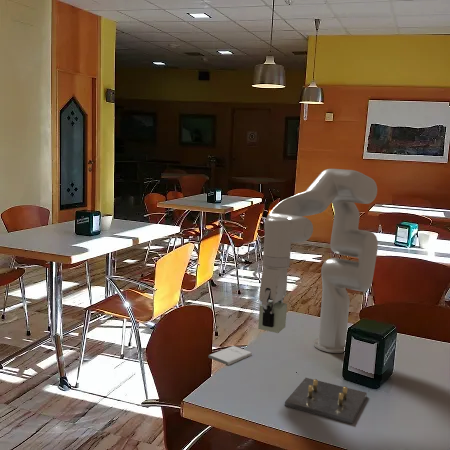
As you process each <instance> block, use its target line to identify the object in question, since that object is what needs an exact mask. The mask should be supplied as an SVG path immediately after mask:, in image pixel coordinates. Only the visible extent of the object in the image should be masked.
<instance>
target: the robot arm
mask: <svg viewBox="0 0 450 450" xmlns="http://www.w3.org/2000/svg"><path fill="white" fill-rule="evenodd" d="M377 195H378V186H377V183H376V181H375V180H374V179H373V178H372V177H370V176H368V175H365V174H364V173H362V172H360V171H357V170H354V169H342V168H341V169H340V168H327V169H324V170H322V171H321V172H320V173H319V174H318V176H317V177H316V178H315V179H314V180H313V182H312V183H311V184H310V185H309V186H308V187H307V188H306V190H304V191H303V192H299V193H297V194H295V195H293V196H290V197H287V198H285V199H283V200H281V201H280V202H279V203H277V204H276V205H275V206H274V207H273V208H272V209H271V210H270V212H269V213H268V215H267V216H266V218H265V220H264V223H263V224H264V225H263V228H264V240H263V252H262V253H263V255H262V267H263V269H262V272H261V273H262V275H261V279H260V287H259V298H258V299H259V301H260V302H261V304H262V306H263V322H262V325H263V326H267V327H273V326H274V313H273V311H274V306H275V303H277V302H280V303H284V300H285V299H284V298H285V297H286V295H287V288H288V287H287V286H288V269H290V265H291V263H290V261H291V252H292V251H291V249H292V247H291V246H292V243H304V242H307V241H308V240H309V239H311V237H312V235H313V232H314V225H313V223H312V221H311V220H310V219H309V218H308V217H309V216H313V215H317V214H322V213H323V212H325V211H326V210H327V209H328V208H329V206H330V205H331V204H332V206H333V207H332V208H333V211H334V215H333V221H332V222H333V223H332V231H331V236H330V250H331V252H333V253H334V254H337V255H341V256H346V257H351V258H357V259H358V261H356V260H350V259H344V258H339V257H332V258H328V259H326V260H324V262H323V263H322V266H321V270H320V271H321V272H320V274H321V275H320V276H321V284H322V285H321V286H322V287H321V288H322V293H321V304H320V314H319V315H320V317H319V326H318V327H319V328H318V329H319V330H318V338H315V339H314V341H313V346H314V347H315V348H316V349H318V350H319V351H323V352H327V353H329V354H330V353H332V354H343V352H344V347H345V340H346V341H347V335H346V333H347V332H348V322H349V313H350V299H351V298H350V296H349V294H348V291H347V289H348V290H352V291H358V292H366V291H368V290H369V289H370V288H371V286H372V283H373V278H374V274H375V270H376V269H375V267H376V262H377V255H378V249H379V242H378V237H377V235H376V234H375V233H374V232H372V231H369V230H363V229H359V223H360V217H361V216H360V210H359V209H358V207H357V205H356V204H366V205H368V204H371V203H372V202H374V201H375V199H376V197H377ZM307 216H308V217H307ZM268 301H272V302H268ZM268 304H271V308H270V306H268ZM347 334H348V333H347ZM344 353H345V352H344Z"/></svg>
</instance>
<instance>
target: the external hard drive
mask: <svg viewBox="0 0 450 450" xmlns="http://www.w3.org/2000/svg"><path fill="white" fill-rule="evenodd" d="M252 355H253V354H252V351H248V350H246V349H243V348H240V347H238V346H235V345H232V346H229V347H227V348H224V349H221V350H218V351H216V352H213V353H211V354H208V359H210V360H213V361H216V362H219V363H221V364H224V365H225V366H230V365H232V364H234V363H236V362H239V361H242V360H243V359H246V358H249V357H250V356H252Z"/></svg>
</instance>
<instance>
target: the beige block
mask: <svg viewBox="0 0 450 450" xmlns="http://www.w3.org/2000/svg"><path fill="white" fill-rule="evenodd" d="M268 302H272V300H269V301H268ZM268 306H270V308H271V304H268ZM287 307H288V304H287V303H286V302H285V303H284V302H283V303H280V302H277V303H275V306H274V311H273V313H274V326H273V327H267V326H263V325H262V322H263V306H262V303H261V304H259V309H258V310H259V311H258V312H259V313H258V324H257V325H258V327H257V328H258V330H262V331H267V332H272V333H276V334H279V333H280V332H281V331H282V330H283V329H285V328H286V324H287V322H286V321H287V311H288V310H287Z"/></svg>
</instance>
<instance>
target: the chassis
mask: <svg viewBox="0 0 450 450" xmlns="http://www.w3.org/2000/svg"><path fill="white" fill-rule="evenodd" d="M367 394H368V392H366V391H362V390H357V389H355V388H349V387H348V386H341V385H338V384H333V383H329V382H325V381H322V380H321V381H320V380H318V379H316V378H315V379H313V378H309V377H305V378H304V379H303V380H302V381H301V383H300V384H299V385H298V386H297V387H296V389H294V391H293V392H292V393H291V394H290V396H289V397H288V398H287V399H286V400H285V402H284V406H285V407H288V408H290V409H295V410H297V411H298V410H299V411H302V412H305V413H309V414H314V415H317V416H319V417H324V418H328V419H331V420H335V421H339V422H343V423H346V424H350V425H353V423H354V421H355V420H356V417H357V415H358V413H359V412H360V410H361V408H362V406H363V404H364V402H365V400H366V399H367V396H368V395H367Z"/></svg>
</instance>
